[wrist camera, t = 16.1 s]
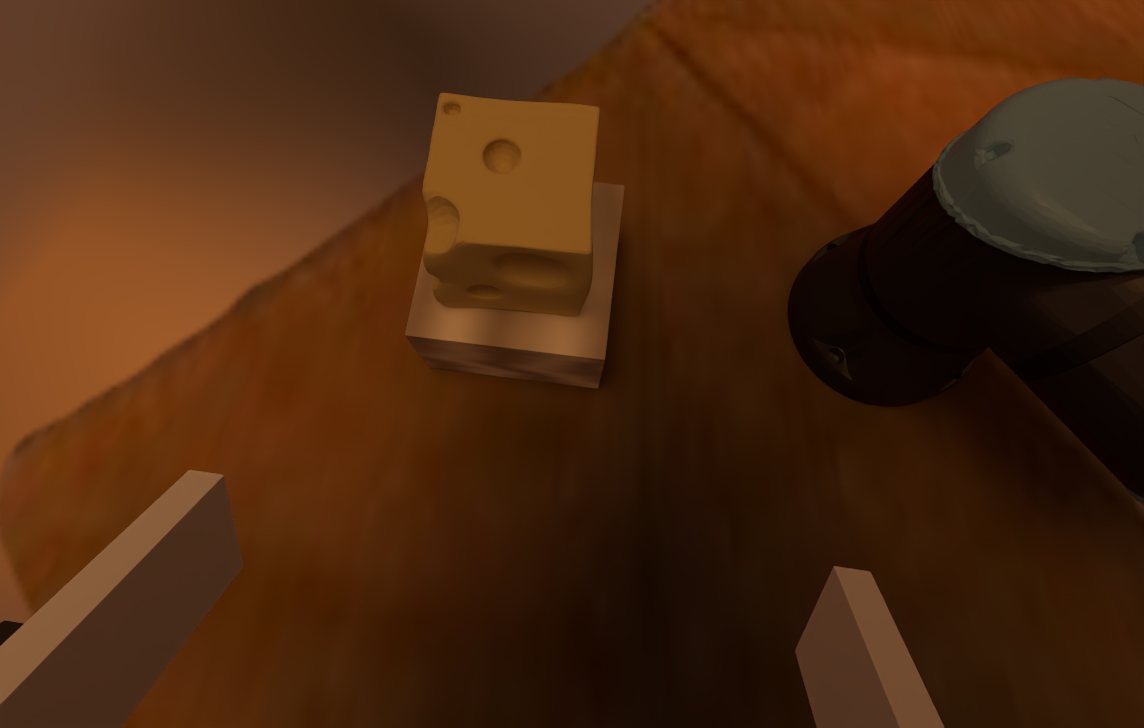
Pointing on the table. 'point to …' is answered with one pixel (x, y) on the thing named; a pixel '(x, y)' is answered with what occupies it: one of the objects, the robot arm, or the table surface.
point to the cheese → (511, 204)
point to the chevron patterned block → (526, 321)
